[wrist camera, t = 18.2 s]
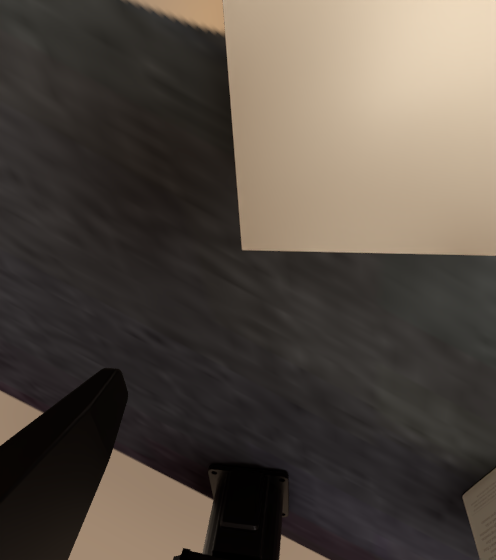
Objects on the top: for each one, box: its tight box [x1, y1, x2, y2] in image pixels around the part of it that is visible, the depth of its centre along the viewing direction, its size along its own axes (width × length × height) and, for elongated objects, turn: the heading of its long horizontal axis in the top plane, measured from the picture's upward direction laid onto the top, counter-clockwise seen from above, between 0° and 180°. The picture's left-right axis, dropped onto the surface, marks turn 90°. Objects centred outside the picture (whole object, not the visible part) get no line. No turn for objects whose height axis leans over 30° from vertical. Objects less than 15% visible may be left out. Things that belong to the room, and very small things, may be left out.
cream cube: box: [223, 0, 496, 256], centre depth 13 cm, size 8×8×7 cm
